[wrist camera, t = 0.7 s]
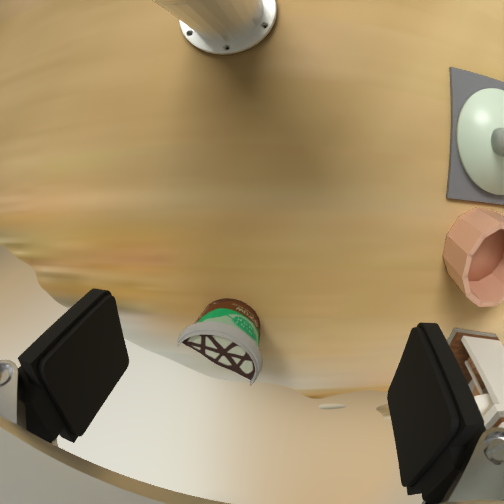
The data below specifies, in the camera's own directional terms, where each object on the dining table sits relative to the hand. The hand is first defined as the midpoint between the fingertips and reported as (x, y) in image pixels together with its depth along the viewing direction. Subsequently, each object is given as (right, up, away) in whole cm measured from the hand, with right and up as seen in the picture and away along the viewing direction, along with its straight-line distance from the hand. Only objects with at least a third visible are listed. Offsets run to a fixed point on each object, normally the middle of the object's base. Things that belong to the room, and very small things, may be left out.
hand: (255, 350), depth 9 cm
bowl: (+33, +4, +29) cm, 44 cm away
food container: (-2, -6, +39) cm, 40 cm away
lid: (+34, +18, +22) cm, 44 cm away
